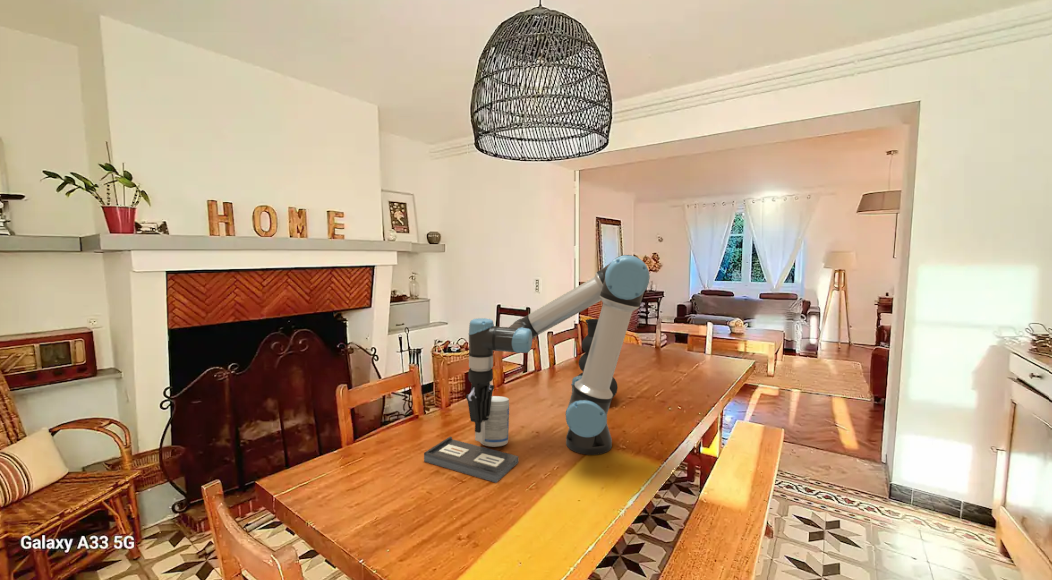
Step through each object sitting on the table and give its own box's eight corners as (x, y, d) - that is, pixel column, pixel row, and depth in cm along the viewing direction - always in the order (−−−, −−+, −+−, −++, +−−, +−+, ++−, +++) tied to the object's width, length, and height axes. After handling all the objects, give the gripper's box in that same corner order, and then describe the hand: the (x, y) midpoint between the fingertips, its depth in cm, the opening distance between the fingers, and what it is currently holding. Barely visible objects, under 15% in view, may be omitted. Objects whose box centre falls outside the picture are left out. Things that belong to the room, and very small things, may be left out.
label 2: (504, 460, 131) (504, 458, 131) (496, 467, 126) (496, 466, 126) (482, 454, 135) (482, 452, 135) (473, 461, 130) (473, 459, 130)
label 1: (469, 450, 137) (469, 449, 137) (459, 457, 132) (459, 456, 132) (448, 445, 141) (448, 444, 141) (438, 451, 136) (438, 450, 136)
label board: (518, 462, 133) (518, 453, 133) (496, 482, 122) (496, 473, 122) (450, 444, 145) (450, 436, 145) (424, 461, 134) (423, 452, 134)
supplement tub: (513, 445, 144) (515, 400, 144) (488, 449, 138) (489, 402, 139) (498, 437, 152) (500, 394, 152) (474, 440, 147) (476, 396, 147)
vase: (623, 399, 188) (625, 319, 184) (607, 413, 172) (609, 326, 169) (584, 391, 198) (585, 315, 194) (565, 404, 182) (566, 321, 178)
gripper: (481, 361, 144) (481, 430, 146) (458, 371, 132) (458, 446, 134) (501, 365, 140) (500, 435, 143) (479, 375, 129) (478, 451, 131)
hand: (479, 440), depth 138 cm, fingers closed
